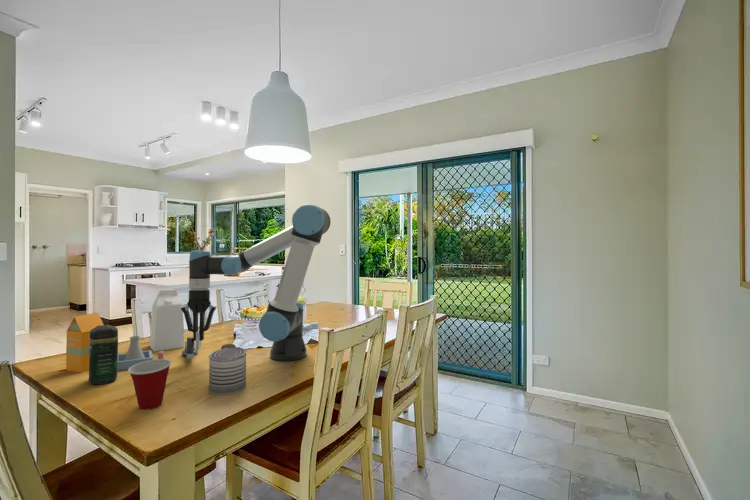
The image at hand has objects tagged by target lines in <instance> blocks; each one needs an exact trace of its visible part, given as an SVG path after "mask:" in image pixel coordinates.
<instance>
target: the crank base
mask: <svg viewBox="0 0 750 500" xmlns="http://www.w3.org/2000/svg"><path fill="white" fill-rule="evenodd" d="M198 351H199V350H196V348H195V350H194V356H197V355H198V353H199V352H198ZM181 356H182V357H186V358H187V351H185V349H184V350H182V351H181Z"/></svg>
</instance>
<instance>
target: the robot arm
mask: <svg viewBox="0 0 750 500" xmlns="http://www.w3.org/2000/svg"><path fill="white" fill-rule="evenodd" d="M291 223H292V224H291V226H289V227H287V228H286V229H283V230H282V231H280V232H278V233H276V234H273V235H272V236H270V237H268V238H266V239H264V240H263V241H260V242H258V243H256V244H254V245H253V246H250V247H249V248H247V249H245V250H244V251H241V252H239V253H237V254H233V255H232V254H230V255H212V254H211V251H210V250H190V252H189V260H188V263H189V266H188V267H189V270H188V271H189V272H188V273H189V277H188V301H187V304H186V305H185V306H183V307H182V308H181V310H182V311H183V317H184V319H185V320H184V321H185V323H186V328H187V331H188V332H192V335H193V336H192V337H193V340H194V341H195V349H196V350H198V351H199V350H201V348H202V341H204V338H205V332H207V331H208V330H210V326H211V324H212V319H213V316H214V314H215V313H214V312H215V311H216V309H217V306H215V305H213V304H212V302H211V301H210V298H211V296H210V295H211V294H210V293H211V291H210V288H211V275H221V276H223V275H225V276H226V275H227V276H235V275H239V274H240V273H245V272H247V271H249V270H250V268H252V267H254V266H256V265H257V264H261V263H262V262H263V261H265V260H267V259H268V260H269V258H271V257H273V256H276V255H278V254H279V253H281V252H283V251H285V250H287V249H289V252H288V254H287V257H286V260H285V264H284V267H283V271H282V274H281V278H280V281H279V283H278V286H277V291H276V293H275V296H274V298H273V299H272V300H270V301H269V302H268V306H267V308H266V311H265V313H264V314H263V315H262V316H261V318H260V319H259V322H258V329H259V332H260V334H261V336H262V337H263V338H264V339H266V340H267V341H270V342H272V345H271V348H270V351H269V357H270V358H271V360H275V361H281V362H282V361H283V362H284V361H288V362H289V361H297V360H301V359H304V358H305V357H307V351H308V350H307V346H306V344H305V341H304V337H303V335H304V333H303V332H304V331H303V329H304V304H303V303H302V302H299V301H298V300H299V297H300V293H301V291H302V287H303V284H304V280H305V278H306V274H307V271H308V267H309V265H310V262H311V259H312V256H313V253H314V249H315V247H316V246H318V245H320V243H321V240H322V237H323V235H324V234H326V232H328V231H329V229H330V227H331V217H330V214H329V213H328V212H327V211H326V210H325V209H323V208H322V207H319V206H318V205H316V204H312V203H306V204H302V205H300V206H299V207H297V208H296V209H295V210H294V212H293V214H292V217H291ZM207 310H208V311H209V312H208V315H207V318H206V319H205V317H206V315H205V314H206V311H207ZM190 311H191V312H192V318H191V314H190Z"/></svg>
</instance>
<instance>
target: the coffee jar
mask: <svg viewBox="0 0 750 500" xmlns="http://www.w3.org/2000/svg"><path fill="white" fill-rule="evenodd" d="M118 354H119V330H118V328H117V327H116V326H114V325H111V324H104V325H101V326H97V327H95V328H93V329H92V330H91V331H90V350H89V370H88V382H89V384H90V385H104V384H108V383H110V382H114V381H116V380H117V378H118V371H117V363H118Z"/></svg>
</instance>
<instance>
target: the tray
mask: <svg viewBox="0 0 750 500" xmlns="http://www.w3.org/2000/svg"><path fill="white" fill-rule="evenodd" d="M142 352H143V354H144V356H145V358H141V359H134V360H126V361H124V359H125V357H126V355H127V352H126V353H125V352H123V353H118V363H117V372H118V371H127V370H128V369H129V368H130V367H131V366H133V365H135V364H138V363H140V362H144V361H148V360H154V355H153V350H151V349H149V350H142Z"/></svg>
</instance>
